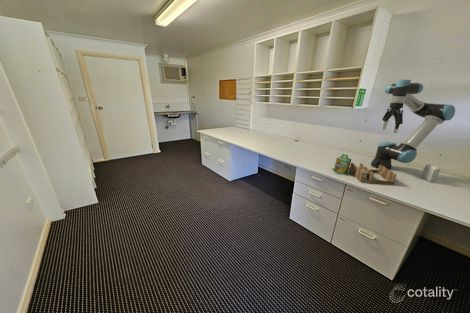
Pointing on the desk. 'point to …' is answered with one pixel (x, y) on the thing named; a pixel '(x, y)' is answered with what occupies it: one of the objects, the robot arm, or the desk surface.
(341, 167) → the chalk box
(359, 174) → the rack
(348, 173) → the cutting mat
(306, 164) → the desk surface
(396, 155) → the robot arm
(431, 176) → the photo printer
